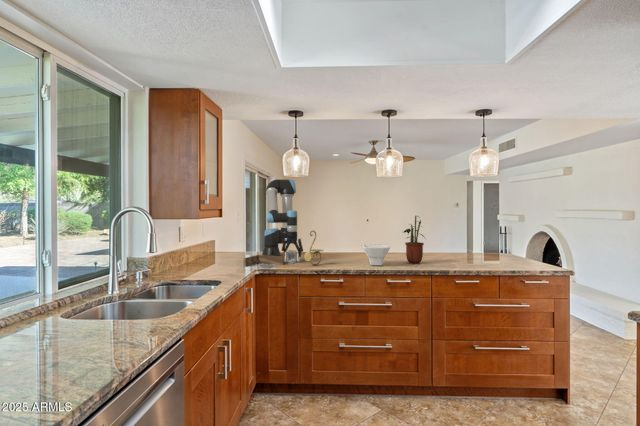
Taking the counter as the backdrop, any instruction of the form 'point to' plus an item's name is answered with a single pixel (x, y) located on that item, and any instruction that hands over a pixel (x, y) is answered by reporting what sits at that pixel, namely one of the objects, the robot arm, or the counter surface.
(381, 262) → the bowl
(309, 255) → the wall sconce
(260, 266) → the mat
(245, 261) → the corner walls
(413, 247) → the potted plant
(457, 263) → the counter surface
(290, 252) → the angle bracket
